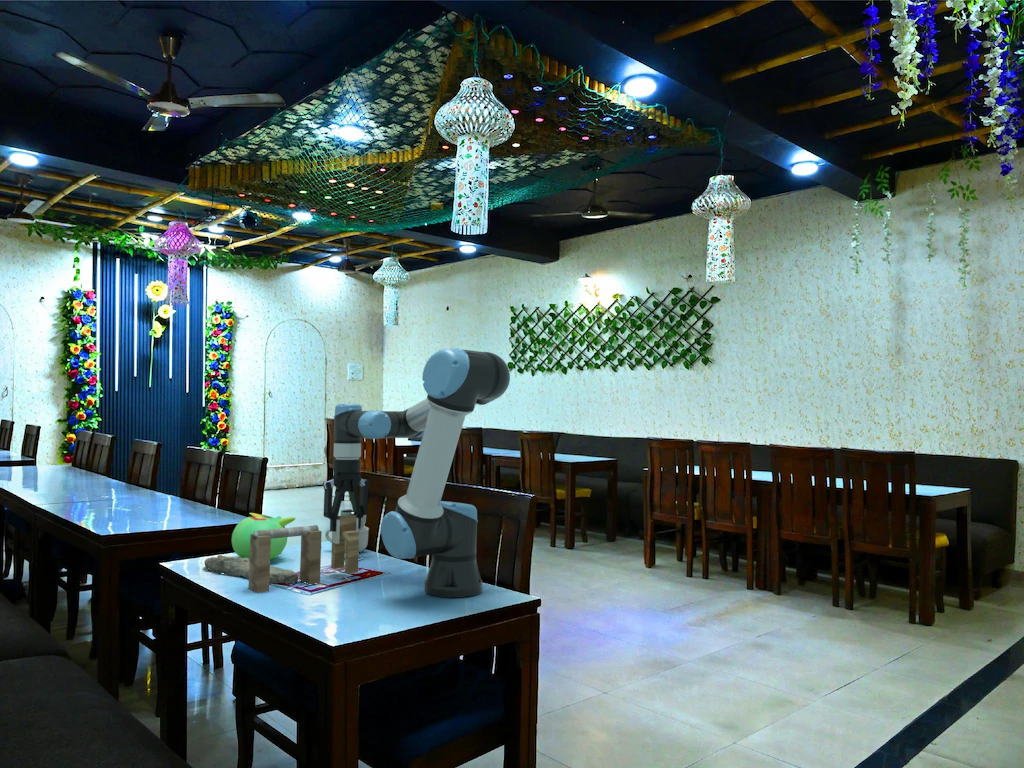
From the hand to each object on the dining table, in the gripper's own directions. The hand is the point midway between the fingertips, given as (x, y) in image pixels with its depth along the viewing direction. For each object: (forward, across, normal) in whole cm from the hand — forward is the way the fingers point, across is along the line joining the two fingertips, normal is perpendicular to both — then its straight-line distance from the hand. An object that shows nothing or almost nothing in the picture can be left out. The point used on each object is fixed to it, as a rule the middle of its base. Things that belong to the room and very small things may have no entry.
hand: (345, 541), depth 201 cm
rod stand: (+10, +17, 0) cm, 20 cm away
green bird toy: (+10, +10, -34) cm, 37 cm away
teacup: (+10, -18, -32) cm, 38 cm away
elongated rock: (+10, +20, -18) cm, 29 cm away
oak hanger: (+8, 0, 0) cm, 8 cm away
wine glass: (+10, -14, -22) cm, 27 cm away
